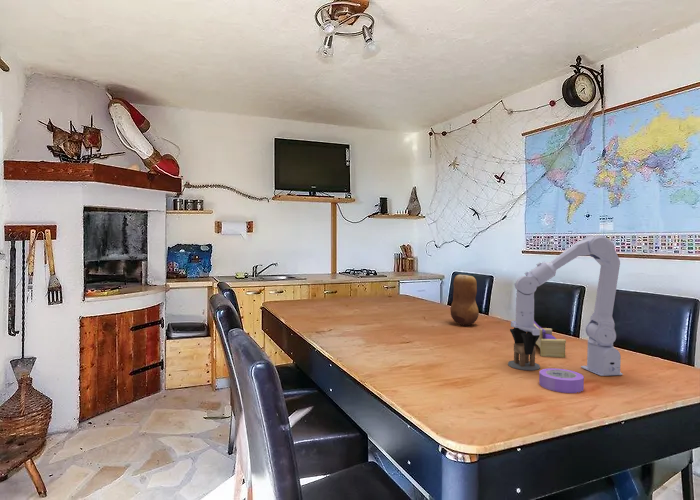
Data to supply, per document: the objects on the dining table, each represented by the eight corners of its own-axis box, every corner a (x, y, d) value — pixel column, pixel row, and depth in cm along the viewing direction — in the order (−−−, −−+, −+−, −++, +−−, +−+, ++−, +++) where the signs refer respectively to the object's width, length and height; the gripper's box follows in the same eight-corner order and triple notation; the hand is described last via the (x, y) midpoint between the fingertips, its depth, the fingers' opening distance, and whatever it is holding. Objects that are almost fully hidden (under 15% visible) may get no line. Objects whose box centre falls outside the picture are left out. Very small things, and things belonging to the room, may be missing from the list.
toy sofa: (566, 358, 159) (566, 330, 159) (540, 357, 161) (541, 329, 161) (551, 344, 180) (551, 319, 180) (528, 343, 181) (529, 319, 181)
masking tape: (532, 386, 129) (532, 373, 129) (548, 377, 137) (548, 365, 137) (575, 396, 121) (575, 383, 120) (589, 387, 129) (589, 374, 129)
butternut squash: (481, 324, 221) (482, 274, 220) (473, 328, 210) (474, 276, 209) (454, 321, 228) (455, 273, 228) (445, 325, 217) (446, 274, 216)
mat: (546, 369, 144) (546, 368, 144) (517, 371, 143) (517, 369, 143) (529, 361, 154) (529, 359, 154) (502, 362, 153) (502, 360, 153)
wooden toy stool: (535, 366, 146) (535, 346, 146) (521, 366, 146) (521, 347, 146) (527, 361, 151) (527, 343, 151) (513, 362, 151) (513, 343, 150)
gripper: (503, 308, 155) (502, 347, 155) (525, 315, 140) (524, 358, 141) (521, 308, 156) (520, 346, 156) (546, 315, 141) (545, 357, 142)
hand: (524, 352), depth 148 cm, fingers closed on wooden toy stool, 5 cm apart
